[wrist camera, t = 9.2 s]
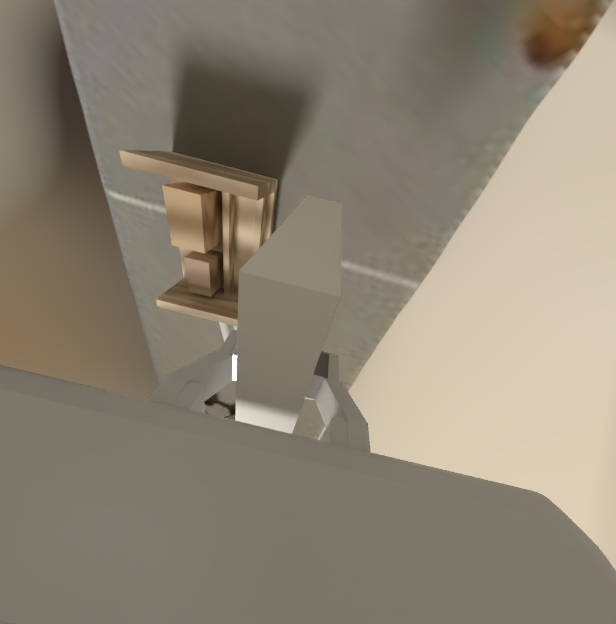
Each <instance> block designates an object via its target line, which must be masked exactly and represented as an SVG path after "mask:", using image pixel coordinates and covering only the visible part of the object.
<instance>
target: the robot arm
mask: <svg viewBox="0 0 616 624" xmlns="http://www.w3.org/2000/svg"><path fill="white" fill-rule="evenodd" d="M236 369H237V330H232V331H231V333H230V334H229V336H228V337H227V339H226V340H225V342H224V344H223V345H222V347H221V348H220V350H219V351H218V352H217V351H215V352H213V353H211V354H209V355H207V356H205V357H203V358H201V359H199V360H197V361H195V362H193V363H191V364H189V365H187V366H185V367H183V368H181V369H179V370H177V371H175V372H173V373H171V374H169V375H167V376H166V378H165V379H164V380H163V381H162V383H161V384H160V385H159V387H158V388H157V389H156V390H155V391H154V393H153V394H152V395H151V396H150V398H149V399H148V400H147V399H143V398H138V397H134V396H130V395H126V394H121V393H117V392H113V391H109V390H105V389H101V388H96V387H92V386H88V385H84V384H79V383H76V382H71V381H67V380H63V379H59V378H54V377H50V376H46V375H42V374H38V373H34V372H29V371H25V370H21V369H17V368H12V367H8V366H4V365H0V624H616V571H615V569H614V568H613V567H612V565H611V564H610V562H609V561H608V559H607V558H606V556H605V555H604V554H603V553H602V551H601V550H600V549H599V547H598V546H597V545H596V544H595V543H594V542H593V541H592V540H591V539H590V538H589V537H588V536H587V535H586V534H585V533H584V532H583V531H582V530H581V529H580V528H579V527H578V526H577V525H576V524H575V523H574V522H573V521H572V520H571V519H570V518H569V517H568V516H567V515H566V514H565V513H564V512H562V510H560V509H559V508H558V507H557V506H556V505H555V504H554V503H553V502H551V501H550V500H549V499H548V498H547V497H545V496H544V495H542V494H540V493H537V492H534V491H530V490H526V489H522V488H518V487H514V486H510V485H505V484H501V483H497V482H492V481H488V480H484V479H480V478H475V477H472V476H467V475H463V474H459V473H454V472H450V471H446V470H442V469H437V468H434V467H429V466H425V465H421V464H417V463H413V462H408V461H404V460H400V459H395V458H391V457H387V456H383V455H379V454H375V453H370V442H369V432H368V423H367V422H366V420H365V418H364V417H363V415H362V414H361V412H360V411H359V409H358V407H357V406H356V404H355V403H354V401H353V399H352V398H351V396H350V395H349V393H348V392H347V390H346V388H345V387H344V385H343V384H342V382H340V381H339V356H338V355H335V354H331V353H327V352H322V351H321V353H320V356H319V359H318V362H317V365H316V367H315V370H314V373H313V376H312V379H311V381H310V384H309V387H308V390H307V393H306V395H305V397H307V398H311V399H315V401H316V404H317V406H318V409H319V411H320V414H321V416H322V419H323V421H324V424H325V426H326V430H325V432H324V433H323V436H322V437H321V439H320V440H316V439H311V438H307V437H303V436H299V435H295V434H290V433H286V432H282V431H278V430H273V429H269V428H265V427H261V426H257V425H252V424H248V423H244V422H240V421H235V420H231V419H227V418H223V417H218V416H214V415H210V414H206V412H205V404H204V402H205V401H206V400H207V399H209V398H210V397H211V396H213V395H214V394H215V393H217V392H218V391H219V390H221V389H222V388H223V387H225V386H226V385H227V384H228V383H230V382H231V381H232V380H236Z"/></svg>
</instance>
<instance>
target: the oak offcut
mask: <svg viewBox="0 0 616 624" xmlns="http://www.w3.org/2000/svg"><path fill="white" fill-rule="evenodd" d="M162 187H163V193H164V199H165V205H166V211H167V218H168V224H169V230H170V236H171V242H172V245H173V246H177V247H181V248H185V249H189V250H192V251H196V252H200V253H204V254H205V253H206V252H208V251H209V250H211V249H212V248H214V247H215V246H216V245H218V244H219V243H221V242H222V241H223V237H222V191H218V190H214V189H211V188H207V187H203V186H199V185H195V184H191V183H188V182H179V183H172V184H166V185H162Z"/></svg>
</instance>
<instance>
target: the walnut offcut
mask: <svg viewBox="0 0 616 624" xmlns="http://www.w3.org/2000/svg"><path fill="white" fill-rule="evenodd" d="M184 260H185V267H186V275H187V282H188V290H189V292H193V293H197V294H201V295H205V296H209V297H211V296H212V295H213V294H214V293H215V292H216V291H217V290H218V289H219V288H220V287H221V286H222V285H223V252H220V251H216V250H212V249H211V250H209V251H208V252H206V253H205V254H204V253H200V252H196V251H193V252H191V253H190V254H188V255H186V256H185V257H184Z"/></svg>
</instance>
